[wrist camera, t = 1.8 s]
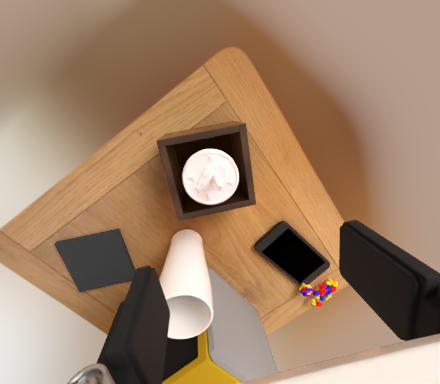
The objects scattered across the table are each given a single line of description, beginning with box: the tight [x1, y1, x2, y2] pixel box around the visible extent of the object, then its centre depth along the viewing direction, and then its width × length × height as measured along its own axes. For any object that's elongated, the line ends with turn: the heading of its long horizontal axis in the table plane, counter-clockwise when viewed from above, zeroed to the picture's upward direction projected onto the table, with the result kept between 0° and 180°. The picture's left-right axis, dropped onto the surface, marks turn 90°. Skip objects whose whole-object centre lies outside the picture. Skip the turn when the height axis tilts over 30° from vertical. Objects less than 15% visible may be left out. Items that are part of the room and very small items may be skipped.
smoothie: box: [182, 149, 239, 205], centre depth 27 cm, size 6×6×14 cm
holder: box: [157, 121, 256, 220], centre depth 29 cm, size 10×10×8 cm
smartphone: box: [255, 221, 330, 286], centre depth 40 cm, size 7×15×1 cm, turn 46°
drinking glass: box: [159, 229, 213, 339], centre depth 30 cm, size 7×7×15 cm
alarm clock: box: [162, 267, 278, 384], centre depth 34 cm, size 20×16×18 cm
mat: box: [55, 229, 136, 292], centre depth 36 cm, size 10×10×1 cm
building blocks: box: [299, 279, 338, 306], centre depth 44 cm, size 6×8×2 cm
